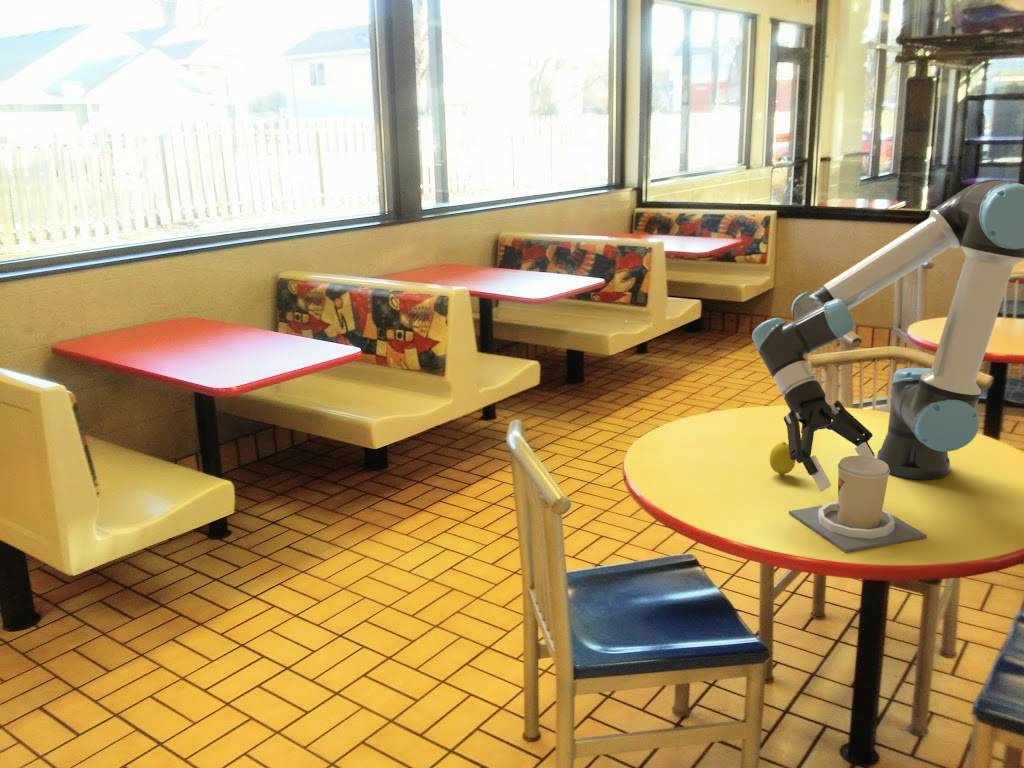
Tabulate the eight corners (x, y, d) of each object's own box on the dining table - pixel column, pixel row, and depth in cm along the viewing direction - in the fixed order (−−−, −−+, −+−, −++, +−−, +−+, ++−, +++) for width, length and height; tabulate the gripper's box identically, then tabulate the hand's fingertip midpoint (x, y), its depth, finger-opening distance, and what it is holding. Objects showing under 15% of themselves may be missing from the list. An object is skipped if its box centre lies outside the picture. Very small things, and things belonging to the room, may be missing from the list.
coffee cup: (843, 506, 182) (848, 451, 178) (890, 518, 176) (897, 462, 173) (825, 522, 175) (830, 465, 172) (874, 535, 169) (880, 476, 166)
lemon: (767, 478, 199) (769, 444, 196) (769, 469, 204) (771, 436, 201) (793, 481, 197) (796, 447, 194) (795, 472, 202) (797, 439, 199)
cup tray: (864, 501, 186) (865, 491, 185) (926, 537, 169) (927, 527, 168) (788, 513, 181) (789, 504, 180) (844, 552, 164) (845, 542, 164)
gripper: (833, 387, 190) (884, 476, 182) (743, 407, 180) (792, 502, 171) (855, 369, 184) (909, 460, 176) (763, 388, 174) (815, 486, 165)
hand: (851, 481), depth 173 cm, fingers open, 13 cm apart
